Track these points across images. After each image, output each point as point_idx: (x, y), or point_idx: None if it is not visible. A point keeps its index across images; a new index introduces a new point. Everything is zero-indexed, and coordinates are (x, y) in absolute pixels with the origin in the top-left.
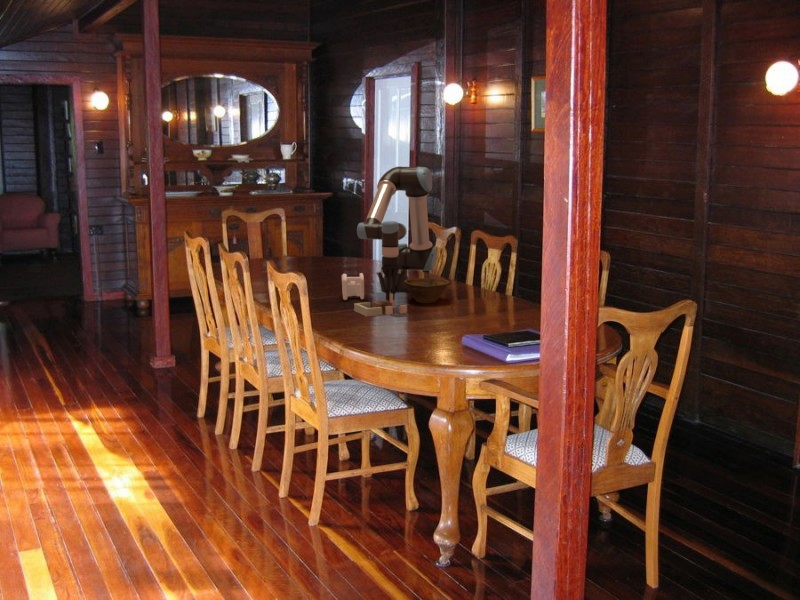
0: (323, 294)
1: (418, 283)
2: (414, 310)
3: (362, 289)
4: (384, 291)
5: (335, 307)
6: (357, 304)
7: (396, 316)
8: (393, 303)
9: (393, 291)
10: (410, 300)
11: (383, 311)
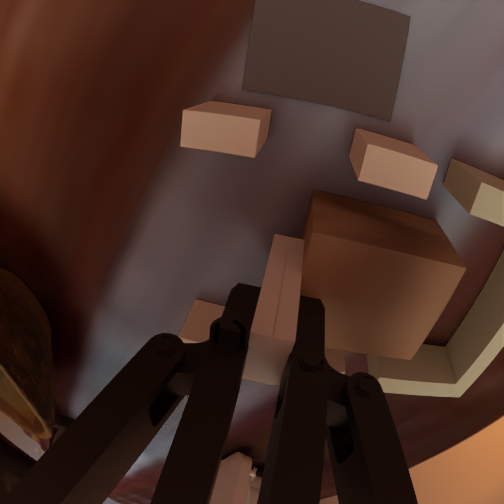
0: None
1: (12, 398)
2: (110, 158)
3: (241, 488)
4: (374, 390)
5: (424, 430)
6: (476, 372)
7: (392, 25)
8: (196, 324)
9: (232, 356)
10: (69, 355)
11: (395, 216)
